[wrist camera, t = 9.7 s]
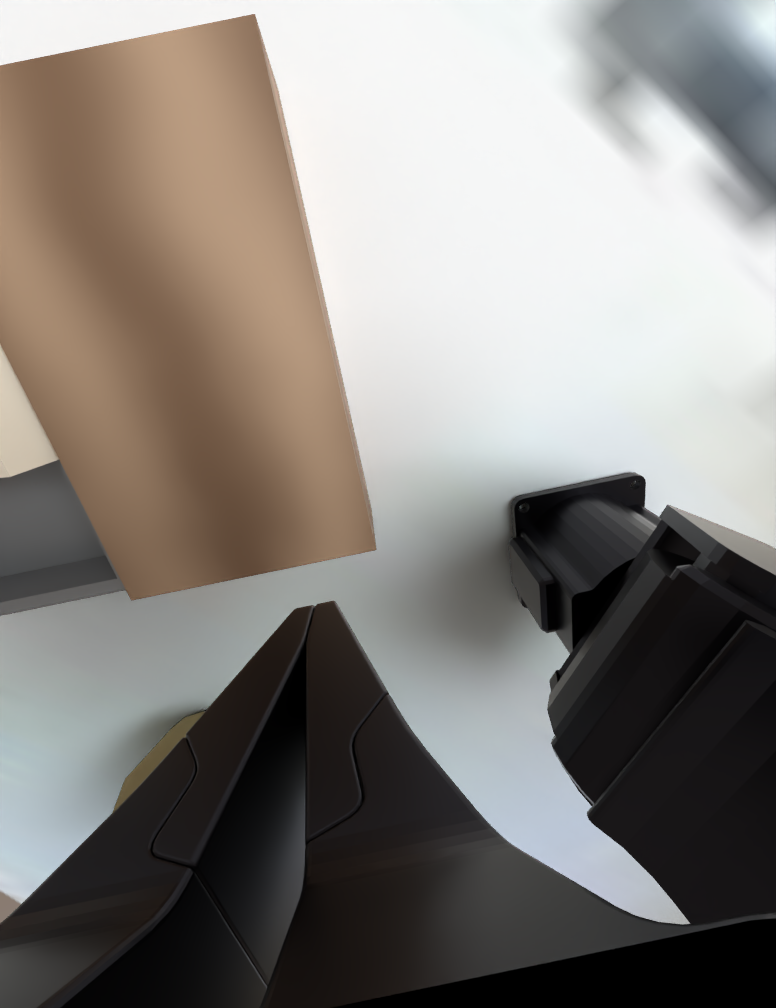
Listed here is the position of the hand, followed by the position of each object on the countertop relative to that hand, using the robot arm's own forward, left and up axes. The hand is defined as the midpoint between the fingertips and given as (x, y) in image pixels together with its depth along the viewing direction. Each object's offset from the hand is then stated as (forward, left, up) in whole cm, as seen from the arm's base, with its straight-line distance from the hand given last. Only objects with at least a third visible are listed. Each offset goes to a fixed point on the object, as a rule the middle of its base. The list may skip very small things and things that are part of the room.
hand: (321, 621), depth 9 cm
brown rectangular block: (+4, -5, -12) cm, 14 cm away
